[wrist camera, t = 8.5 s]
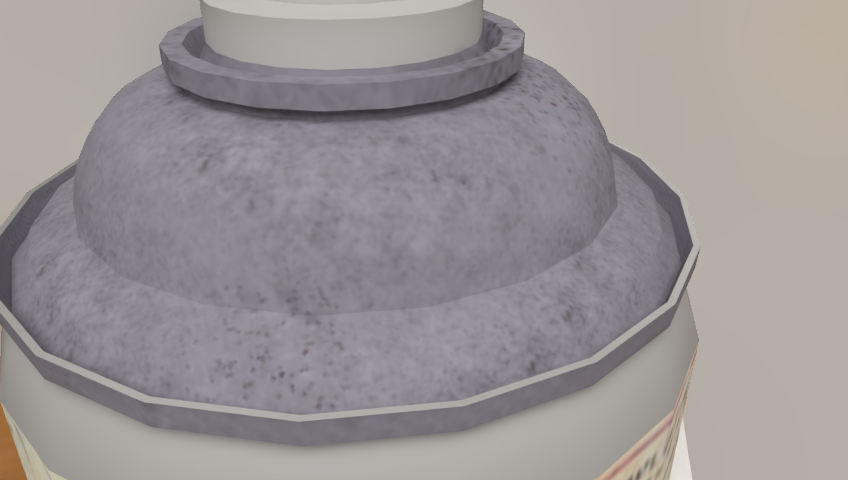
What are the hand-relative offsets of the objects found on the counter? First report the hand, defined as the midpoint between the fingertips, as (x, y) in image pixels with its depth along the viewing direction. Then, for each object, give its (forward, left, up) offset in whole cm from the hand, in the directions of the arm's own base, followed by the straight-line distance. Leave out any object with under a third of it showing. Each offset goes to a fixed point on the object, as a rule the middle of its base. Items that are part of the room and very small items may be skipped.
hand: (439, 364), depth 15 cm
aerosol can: (0, -5, -11) cm, 12 cm away
